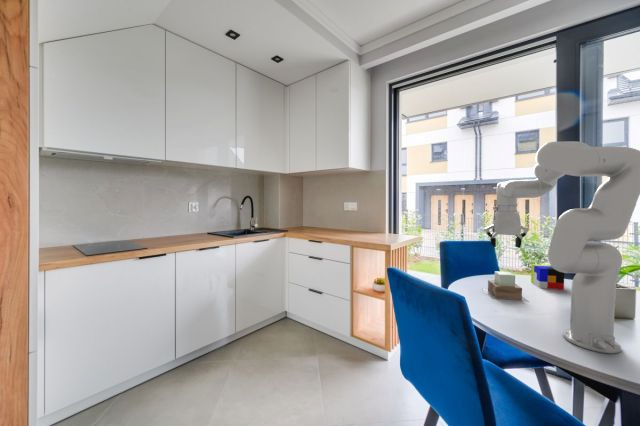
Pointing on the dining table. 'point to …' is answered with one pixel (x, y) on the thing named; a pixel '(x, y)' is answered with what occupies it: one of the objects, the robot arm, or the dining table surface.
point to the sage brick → (504, 278)
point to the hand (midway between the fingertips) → (505, 246)
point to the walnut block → (504, 290)
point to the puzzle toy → (547, 277)
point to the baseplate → (504, 298)
